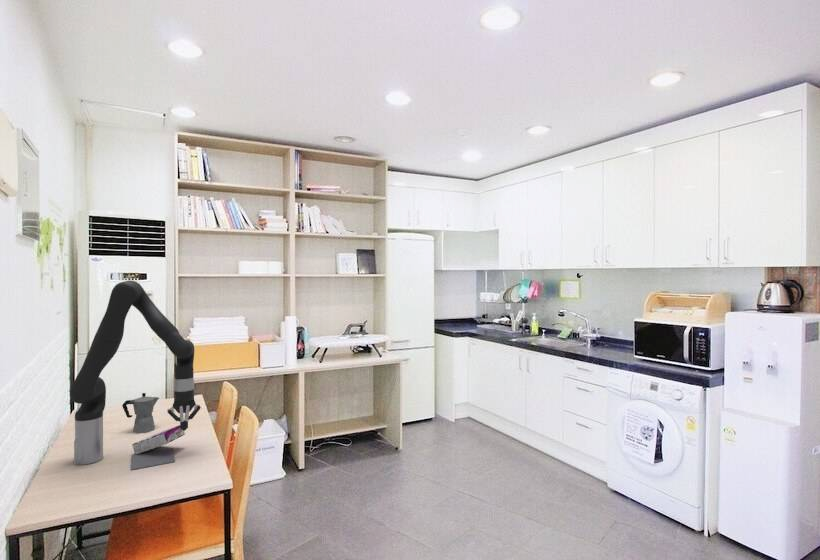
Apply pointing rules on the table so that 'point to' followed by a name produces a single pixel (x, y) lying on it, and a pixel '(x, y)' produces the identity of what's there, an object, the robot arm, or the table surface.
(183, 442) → the table surface
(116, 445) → the table surface
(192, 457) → the table surface
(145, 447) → the candy bar box
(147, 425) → the coffeepot
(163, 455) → the mat
